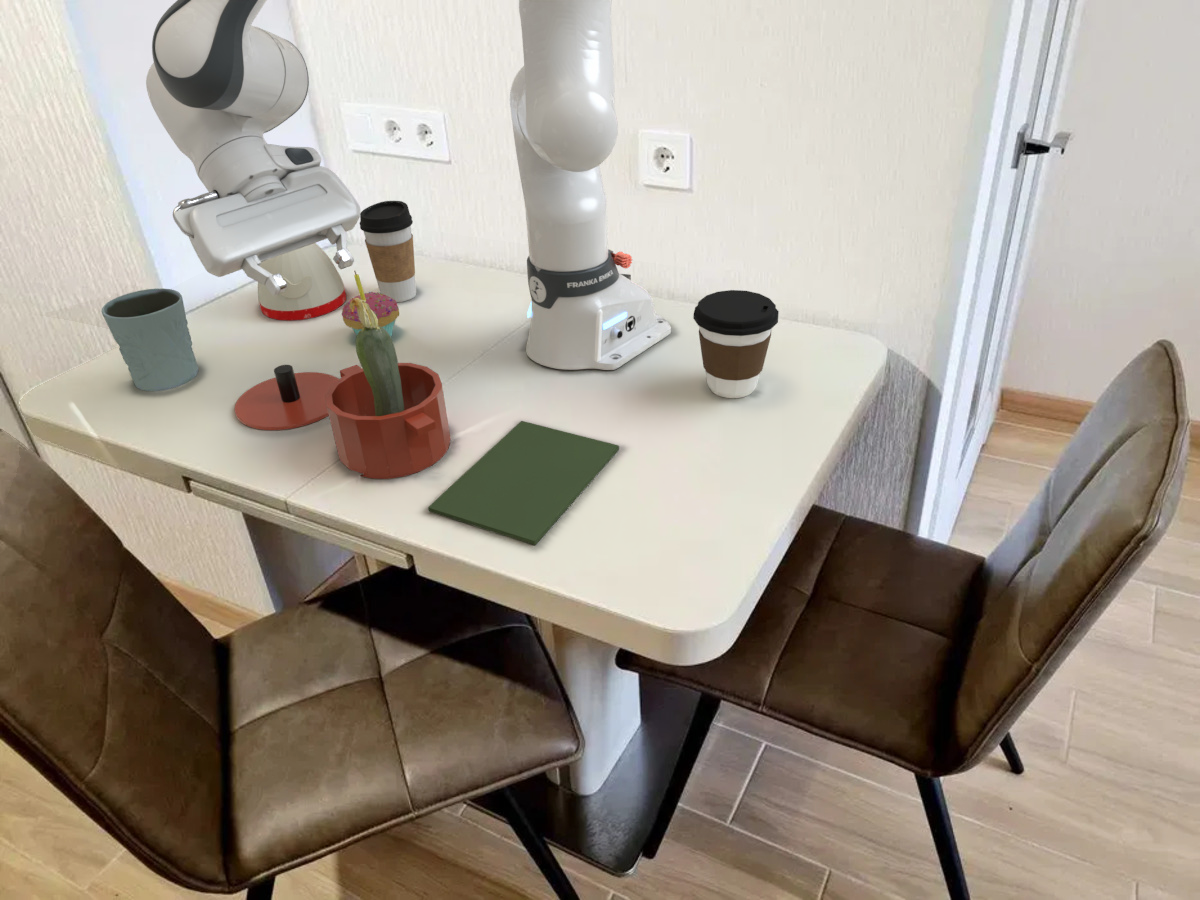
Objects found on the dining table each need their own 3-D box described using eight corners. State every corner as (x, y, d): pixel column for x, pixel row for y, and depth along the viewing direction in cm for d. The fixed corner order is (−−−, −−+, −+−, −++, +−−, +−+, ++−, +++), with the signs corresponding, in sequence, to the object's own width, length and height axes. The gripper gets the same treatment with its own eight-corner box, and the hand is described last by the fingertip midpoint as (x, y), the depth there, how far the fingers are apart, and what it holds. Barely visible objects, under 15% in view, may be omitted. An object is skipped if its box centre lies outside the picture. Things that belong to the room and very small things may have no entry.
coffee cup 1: (434, 290, 149) (421, 204, 141) (400, 309, 144) (384, 220, 135) (397, 281, 153) (382, 197, 145) (363, 299, 147) (345, 212, 139)
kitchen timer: (265, 291, 152) (242, 206, 144) (346, 281, 154) (328, 197, 146) (257, 325, 141) (232, 235, 132) (345, 314, 143) (326, 224, 135)
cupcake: (390, 353, 131) (375, 277, 124) (337, 350, 132) (320, 275, 126) (411, 328, 138) (399, 255, 131) (361, 325, 139) (346, 253, 133)
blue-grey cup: (117, 396, 123) (86, 318, 116) (150, 362, 131) (123, 287, 124) (188, 395, 122) (161, 317, 116) (216, 361, 131) (193, 286, 124)
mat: (521, 424, 113) (521, 420, 113) (619, 449, 107) (619, 445, 107) (428, 511, 98) (427, 507, 98) (535, 545, 93) (535, 541, 92)
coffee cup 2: (780, 374, 121) (788, 294, 114) (762, 413, 113) (769, 329, 106) (704, 362, 125) (707, 283, 118) (681, 400, 116) (682, 317, 110)
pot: (404, 399, 119) (394, 345, 115) (483, 456, 107) (475, 398, 102) (311, 437, 112) (296, 381, 107) (384, 503, 100) (371, 442, 95)
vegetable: (415, 434, 111) (388, 287, 100) (410, 453, 108) (381, 303, 96) (380, 436, 111) (349, 289, 100) (374, 455, 108) (341, 305, 96)
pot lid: (318, 368, 128) (310, 333, 125) (366, 405, 118) (359, 369, 115) (220, 404, 120) (208, 368, 117) (263, 447, 111) (251, 409, 107)
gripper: (168, 189, 94) (242, 294, 94) (326, 144, 107) (391, 238, 107) (160, 221, 99) (231, 322, 99) (312, 175, 112) (374, 264, 112)
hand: (315, 278), depth 103 cm, fingers open, 8 cm apart
